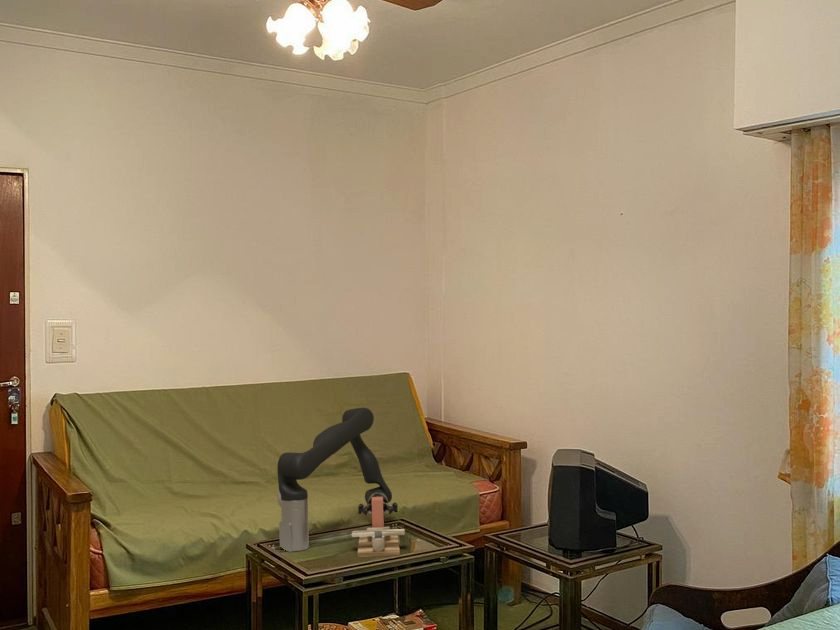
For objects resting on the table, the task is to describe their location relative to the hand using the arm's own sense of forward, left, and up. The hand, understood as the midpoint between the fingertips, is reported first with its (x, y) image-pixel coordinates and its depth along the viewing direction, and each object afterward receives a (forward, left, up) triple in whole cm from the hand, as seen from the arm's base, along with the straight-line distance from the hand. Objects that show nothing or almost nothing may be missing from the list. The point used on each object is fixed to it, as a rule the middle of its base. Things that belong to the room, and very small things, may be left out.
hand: (377, 511), depth 302 cm
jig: (-5, -5, -11) cm, 13 cm away
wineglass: (-14, +34, -11) cm, 39 cm away
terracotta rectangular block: (+1, +1, -10) cm, 10 cm away
